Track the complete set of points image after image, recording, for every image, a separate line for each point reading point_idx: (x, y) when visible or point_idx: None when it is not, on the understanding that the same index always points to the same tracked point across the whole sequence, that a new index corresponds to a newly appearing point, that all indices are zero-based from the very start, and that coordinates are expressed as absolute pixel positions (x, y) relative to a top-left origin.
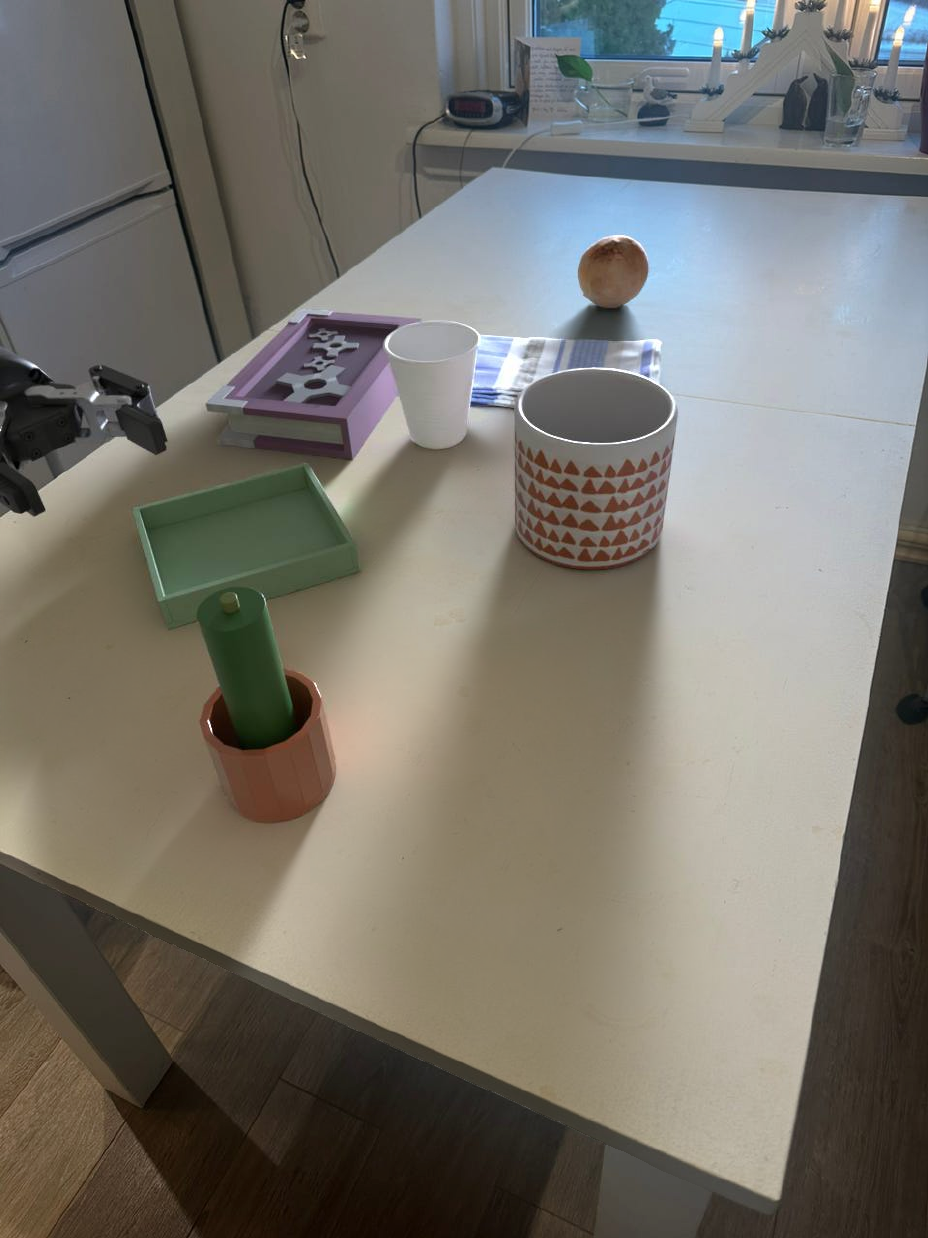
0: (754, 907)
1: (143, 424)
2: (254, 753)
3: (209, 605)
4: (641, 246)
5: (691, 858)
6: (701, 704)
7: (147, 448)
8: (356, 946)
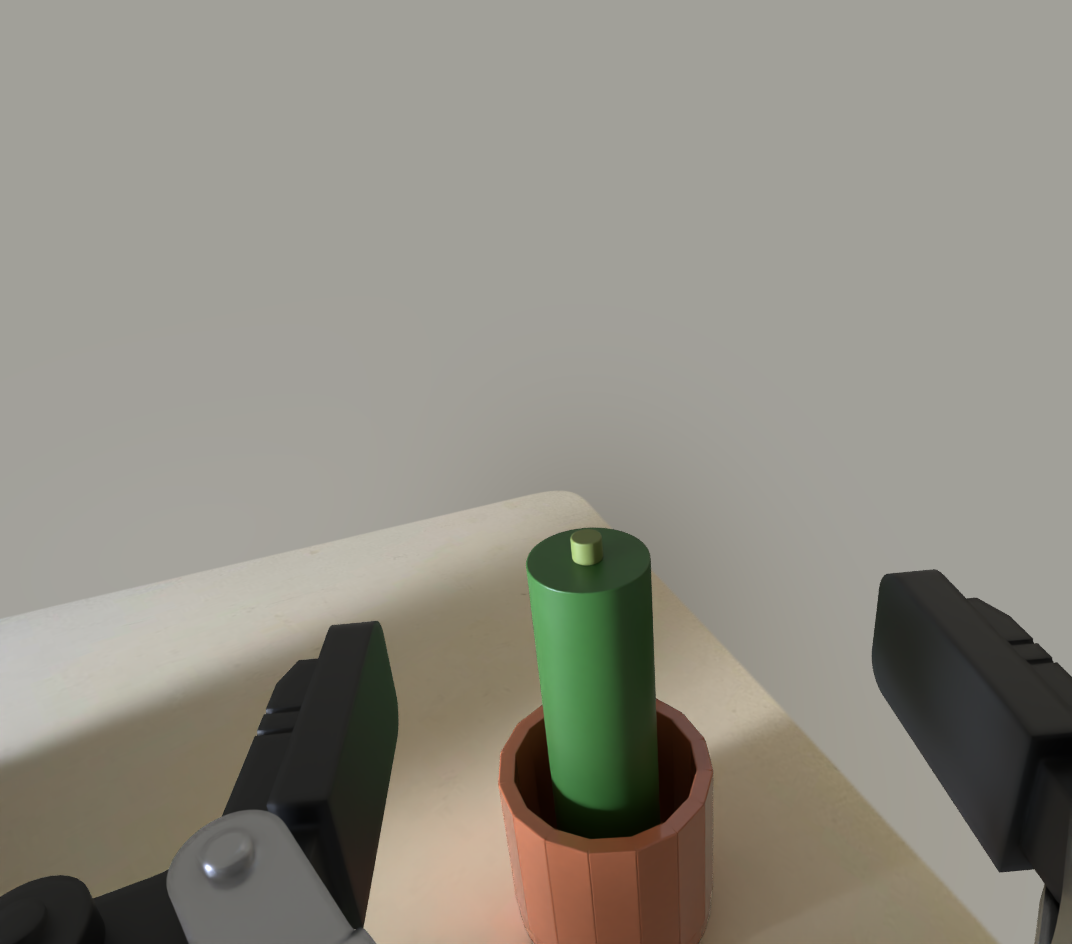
0: (409, 545)
1: (372, 638)
2: (660, 706)
3: (612, 576)
4: None
5: (394, 579)
6: (196, 649)
7: (388, 765)
8: (677, 665)
